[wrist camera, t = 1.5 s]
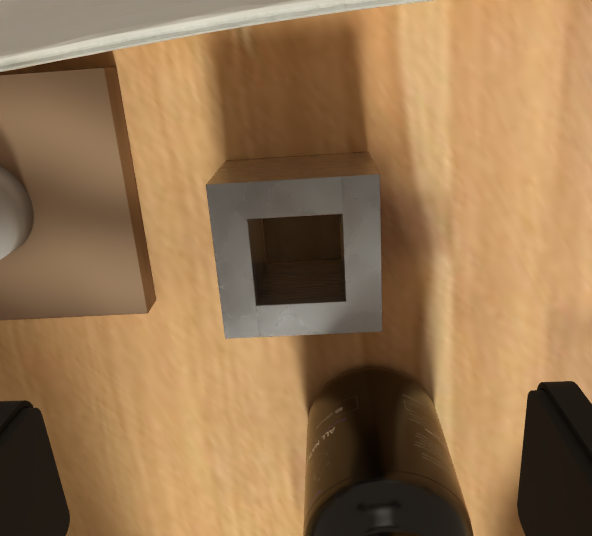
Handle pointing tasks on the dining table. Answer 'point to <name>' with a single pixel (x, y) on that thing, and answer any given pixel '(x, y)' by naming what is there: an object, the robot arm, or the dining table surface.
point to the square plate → (137, 23)
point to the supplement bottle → (379, 461)
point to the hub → (297, 274)
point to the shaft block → (69, 199)
